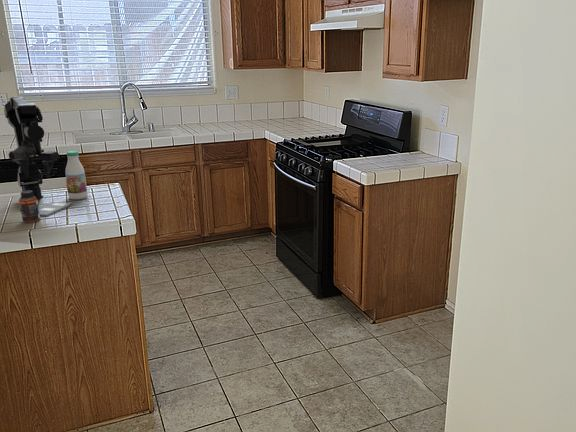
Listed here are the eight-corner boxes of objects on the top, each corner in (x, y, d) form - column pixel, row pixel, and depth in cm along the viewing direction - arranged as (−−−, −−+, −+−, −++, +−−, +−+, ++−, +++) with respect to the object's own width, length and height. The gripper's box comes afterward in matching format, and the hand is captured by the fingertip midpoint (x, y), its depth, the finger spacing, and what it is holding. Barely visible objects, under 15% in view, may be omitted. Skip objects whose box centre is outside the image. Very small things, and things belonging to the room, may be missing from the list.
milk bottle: (68, 196, 222) (62, 150, 216) (87, 194, 225) (81, 149, 219) (68, 200, 215) (62, 153, 209) (88, 198, 218) (82, 152, 212)
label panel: (24, 214, 196) (23, 212, 196) (51, 203, 211) (51, 201, 211) (46, 216, 194) (46, 214, 194) (72, 205, 209) (72, 203, 208)
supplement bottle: (43, 219, 191) (39, 189, 187) (32, 224, 185) (27, 194, 182) (30, 217, 192) (25, 188, 189) (18, 222, 187) (13, 193, 183)
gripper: (-6, 139, 190) (1, 180, 195) (38, 141, 186) (44, 183, 191) (16, 135, 200) (22, 174, 205) (57, 136, 196) (63, 176, 201)
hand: (37, 176), depth 200 cm, fingers open, 9 cm apart
